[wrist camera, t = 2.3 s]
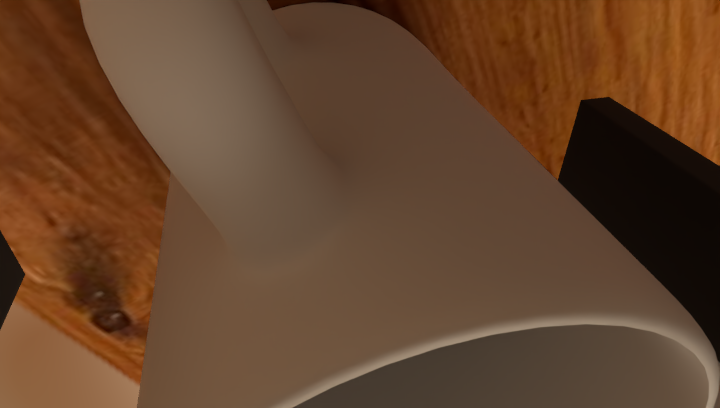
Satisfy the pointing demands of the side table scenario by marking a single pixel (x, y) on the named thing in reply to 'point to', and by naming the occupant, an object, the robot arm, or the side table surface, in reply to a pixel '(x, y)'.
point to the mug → (369, 229)
